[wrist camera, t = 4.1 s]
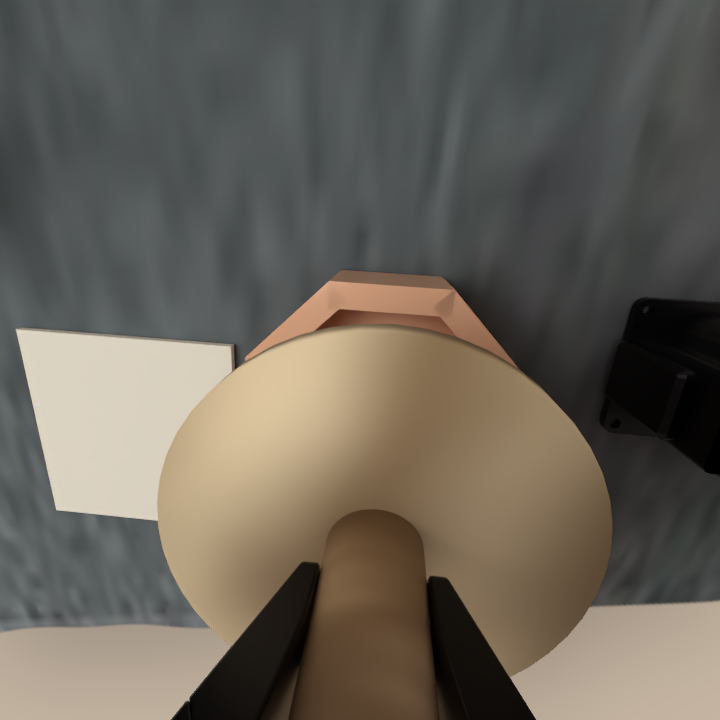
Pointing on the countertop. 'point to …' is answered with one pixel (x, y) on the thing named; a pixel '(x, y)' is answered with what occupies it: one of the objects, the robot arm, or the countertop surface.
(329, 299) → the bowl
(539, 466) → the lid
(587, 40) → the countertop surface
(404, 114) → the countertop surface
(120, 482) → the mat
